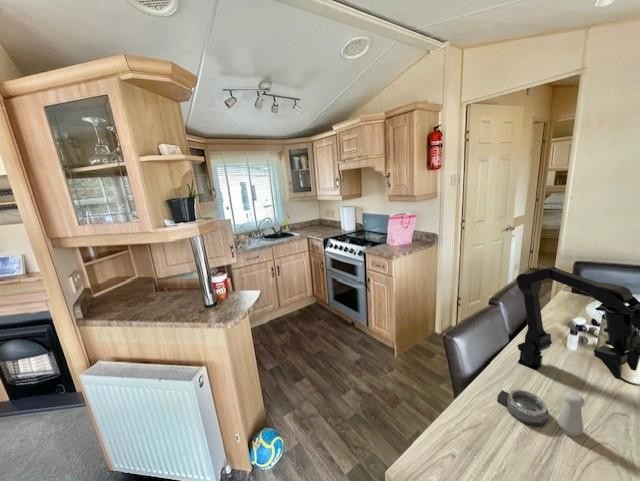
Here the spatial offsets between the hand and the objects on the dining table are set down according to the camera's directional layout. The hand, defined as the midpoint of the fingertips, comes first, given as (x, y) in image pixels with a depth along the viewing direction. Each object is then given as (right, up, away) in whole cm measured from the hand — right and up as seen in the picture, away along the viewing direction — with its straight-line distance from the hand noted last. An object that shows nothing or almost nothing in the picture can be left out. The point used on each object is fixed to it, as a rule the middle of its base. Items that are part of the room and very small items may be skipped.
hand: (625, 374), depth 84 cm
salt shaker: (-20, -17, -2) cm, 26 cm away
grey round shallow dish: (-29, -15, +6) cm, 33 cm away
